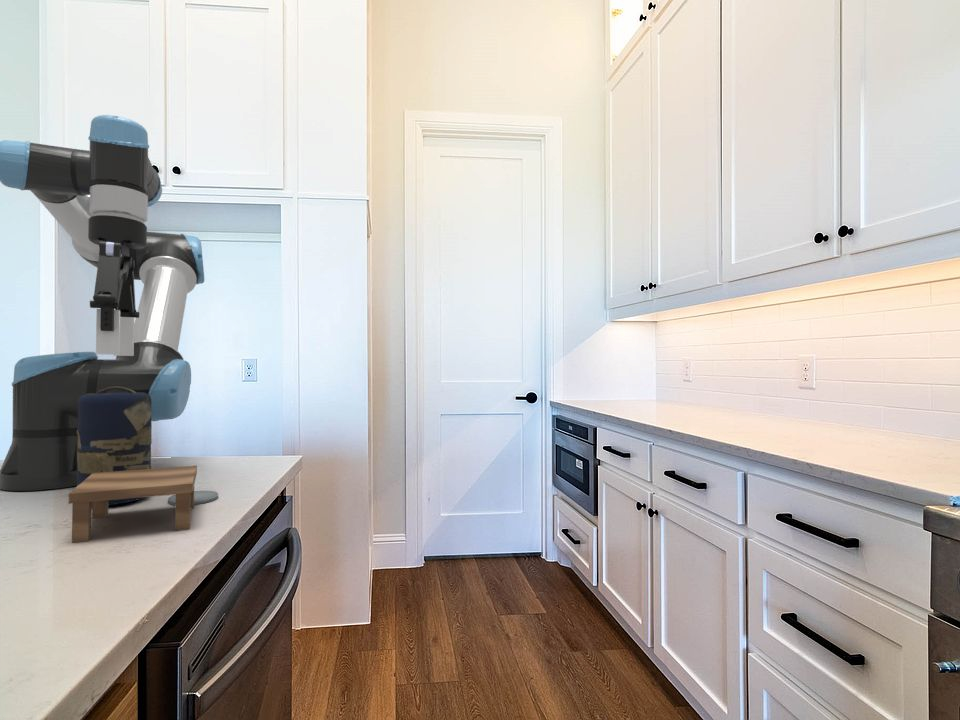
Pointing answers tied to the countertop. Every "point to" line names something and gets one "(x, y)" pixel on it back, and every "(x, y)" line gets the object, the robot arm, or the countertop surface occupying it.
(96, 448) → the canister
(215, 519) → the countertop surface
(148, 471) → the step stool
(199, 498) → the slate coaster
